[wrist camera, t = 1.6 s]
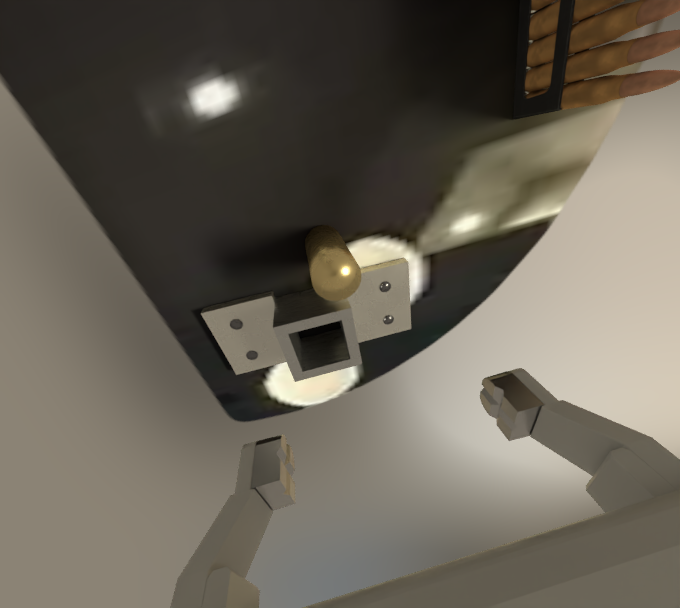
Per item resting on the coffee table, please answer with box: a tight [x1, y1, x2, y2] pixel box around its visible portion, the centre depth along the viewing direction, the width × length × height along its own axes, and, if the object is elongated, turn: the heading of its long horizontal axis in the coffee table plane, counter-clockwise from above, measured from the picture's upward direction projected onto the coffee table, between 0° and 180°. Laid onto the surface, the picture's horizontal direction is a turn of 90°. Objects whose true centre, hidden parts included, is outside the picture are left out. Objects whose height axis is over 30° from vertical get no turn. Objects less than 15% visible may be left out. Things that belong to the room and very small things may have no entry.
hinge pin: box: [305, 225, 361, 301], centre depth 24 cm, size 4×4×9 cm
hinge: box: [201, 258, 411, 382], centre depth 30 cm, size 10×24×6 cm, turn 101°
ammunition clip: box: [513, 0, 680, 119], centre depth 17 cm, size 11×2×12 cm, turn 17°
